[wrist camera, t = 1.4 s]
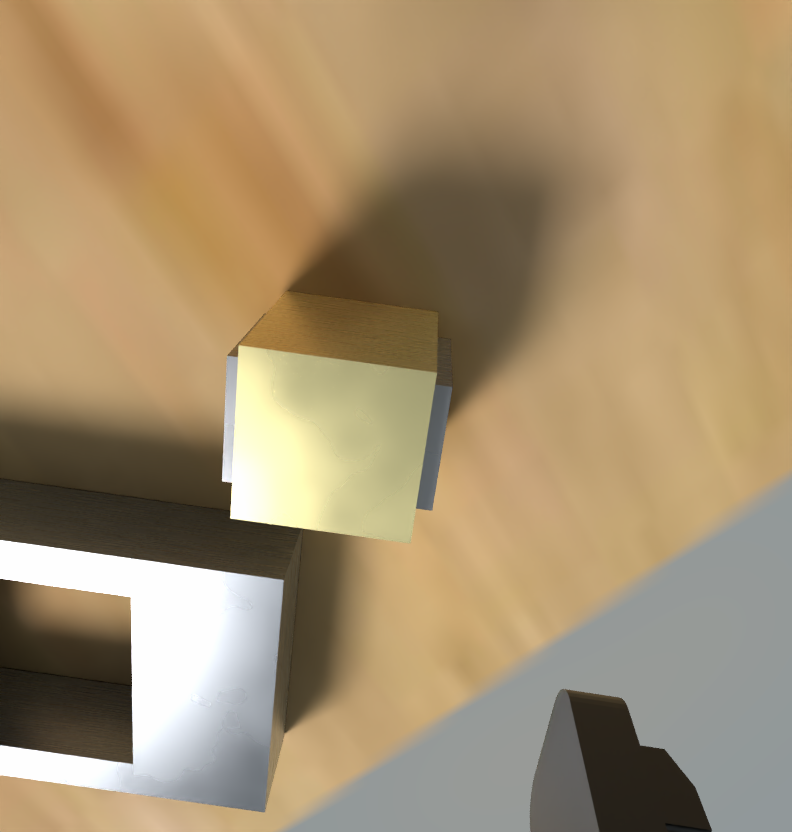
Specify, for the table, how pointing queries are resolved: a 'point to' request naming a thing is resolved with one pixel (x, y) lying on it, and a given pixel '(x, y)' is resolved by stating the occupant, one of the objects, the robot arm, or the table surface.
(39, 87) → the table surface
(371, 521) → the brushed gold cube
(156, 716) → the silver slotted board
